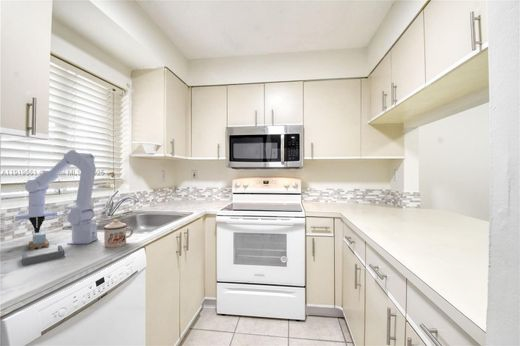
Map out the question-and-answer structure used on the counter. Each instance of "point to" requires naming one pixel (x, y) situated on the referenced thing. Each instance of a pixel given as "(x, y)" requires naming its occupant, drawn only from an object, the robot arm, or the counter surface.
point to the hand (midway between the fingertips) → (36, 232)
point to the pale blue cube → (39, 238)
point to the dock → (43, 256)
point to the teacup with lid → (115, 234)
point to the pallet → (38, 245)
